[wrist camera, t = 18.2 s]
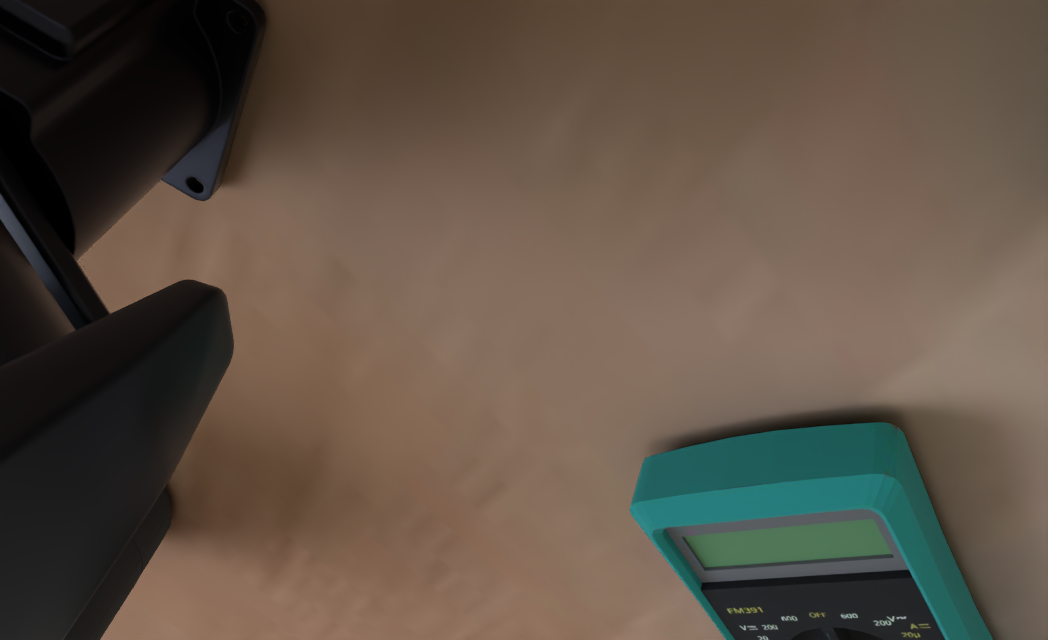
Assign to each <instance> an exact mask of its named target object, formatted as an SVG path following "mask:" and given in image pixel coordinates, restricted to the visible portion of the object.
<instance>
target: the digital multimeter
mask: <svg viewBox="0 0 1048 640" xmlns="http://www.w3.org/2000/svg"><path fill="white" fill-rule="evenodd" d="M630 512H631V515H632V517H633V518H634V519H635V520H636V522H637V523H638V524H639V526H640V527H641V528H642V530H643V531H644V532H645V533H646V535H647V536H648V537H649V539H650V540H651V541H652V542H653V544H654V545H655V546H656V548H657V549H658V550H659V551H660V553H661V554H662V555H663V557H664V558H665V559H666V561H667V562H668V563H669V564H670V566H671V567H672V568H673V570H674V571H675V572H676V573H677V575H678V576H679V577H680V579H681V580H682V581H683V582H684V584H685V585H686V586H687V588H688V589H689V590H690V591H691V593H692V594H693V595H694V597H695V598H696V599H697V601H698V602H699V603H700V604H701V606H702V607H703V608H704V610H705V611H706V613H707V614H708V615H709V617H710V618H711V619H712V621H713V622H714V624H715V625H716V626H717V628H718V629H719V631H720V632H721V633H722V635H723V636H724V638H725V639H726V640H993V638H992V636H991V634H990V632H989V631H988V629H987V627H986V625H985V623H984V621H983V619H982V617H981V615H980V614H979V612H978V610H977V608H976V606H975V604H974V601H973V599H972V597H971V595H970V592H969V590H968V588H967V586H966V584H965V581H964V579H963V577H962V575H961V572H960V570H959V568H958V566H957V564H956V561H955V559H954V557H953V555H952V552H951V550H950V548H949V546H948V544H947V541H946V539H945V537H944V535H943V532H942V529H941V527H940V524H939V522H938V519H937V517H936V514H935V512H934V509H933V506H932V504H931V501H930V499H929V496H928V494H927V491H926V489H925V486H924V483H923V481H922V478H921V476H920V473H919V471H918V468H917V466H916V463H915V460H914V458H913V455H912V453H911V450H910V448H909V445H908V443H907V440H906V437H905V435H904V433H903V432H902V431H901V430H900V429H899V428H898V427H897V426H894V425H892V424H889V423H884V422H874V423H859V424H844V425H830V426H818V427H807V428H797V429H787V430H777V431H770V432H763V433H757V434H750V435H744V436H737V437H731V438H726V439H722V440H717V441H712V442H707V443H703V444H698V445H693V446H689V447H685V448H681V449H677V450H673V451H669V452H664V453H660V454H656V455H652V456H650V457H647V458H645V460H644V462H643V464H642V467H641V471H640V474H639V478H638V482H637V485H636V489H635V492H634V496H633V499H632V503H631V506H630Z"/></svg>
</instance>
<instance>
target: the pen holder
mask: <svg viewBox="0 0 1048 640" xmlns="http://www.w3.org/2000/svg"><path fill="white" fill-rule="evenodd" d="M170 523H171V503H170V499H169V495H168V493H167V490H166V488H164V489H163V491H162V492H161V494H160V496H159V497H158V499H157V500H156V502H155V503H154V505H153V506H152V508H151V509H150V511H149V512H148V514H147V515H146V517H145V518H144V520H143V521H142V523H141V524H140V526H139V527H138V529H137V530H136V532H135V533H134V535H133V536H132V538H131V539H130V541H129V542H128V544H127V545H126V547H125V548H124V550H123V551H122V553H121V554H120V556H119V557H118V559H117V560H116V562H115V563H114V565H113V566H112V568H111V569H110V571H109V572H108V574H107V575H106V577H105V578H104V580H103V581H102V583H101V584H100V586H99V587H98V589H97V590H96V592H95V593H94V595H93V596H92V598H91V599H90V601H89V602H88V604H87V605H86V607H85V608H84V610H83V611H82V613H81V614H80V616H79V617H78V619H77V620H76V622H75V623H74V625H73V626H72V628H71V629H70V631H69V632H68V634H67V635H66V637H65V638H64V640H100V639H101V637H102V636H103V634H104V633H105V631H106V629H107V628H108V626H109V625H110V623H111V622H112V620H113V618H114V617H115V615H116V614H117V612H118V611H119V609H120V607H121V606H122V604H123V603H124V601H125V599H126V598H127V596H128V595H129V593H130V592H131V590H132V588H133V587H134V585H135V584H136V582H137V580H138V578H139V577H140V575H141V574H142V572H143V570H144V569H145V567H146V566H147V564H148V562H149V561H150V559H151V558H152V556H153V554H154V553H155V551H156V549H157V548H158V546H159V545H160V543H161V541H162V540H163V538H164V536H165V534H166V532H167V531H168V529H169V527H170Z"/></svg>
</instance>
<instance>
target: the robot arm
mask: <svg viewBox="0 0 1048 640" xmlns="http://www.w3.org/2000/svg"><path fill="white" fill-rule="evenodd" d="M237 13H240V14H241V15H242V16H243V17H245V19H246V21H247V23H248V25H245V24H244V23H242V22H241V21H240V20H239V18H238V16H237ZM265 29H266V16H265V13H264V11H263V9H262V8H261V6H260V5H259V4H258V3H257V2H256V1H255V0H0V640H64V638H65V637H66V635H67V634H68V632H69V631H70V629H71V628H72V626H73V625H74V623H75V622H76V620H77V619H78V617H79V616H80V614H81V613H82V611H83V610H84V608H85V607H86V605H87V604H88V602H89V601H90V599H91V598H92V596H93V595H94V593H95V592H96V590H97V589H98V587H99V586H100V584H101V583H102V581H103V580H104V578H105V577H106V575H107V574H108V572H109V571H110V569H111V568H112V566H113V565H114V563H115V562H116V560H117V559H118V557H119V556H120V554H121V553H122V551H123V550H124V548H125V547H126V545H127V544H128V542H129V541H130V539H131V538H132V536H133V535H134V533H135V532H136V530H137V529H138V527H139V526H140V524H141V523H142V521H143V520H144V518H145V517H146V515H147V514H148V512H149V511H150V509H151V508H152V506H153V505H154V503H155V502H156V500H157V499H158V497H159V496H160V494H161V492H162V491H163V489H164V488H165V486H166V485H167V483H168V481H169V479H170V478H171V476H172V474H173V472H174V470H175V469H176V467H177V465H178V463H179V461H180V459H181V457H182V455H183V453H184V451H185V449H186V448H187V446H188V444H189V442H190V440H191V438H192V436H193V434H194V432H195V430H196V428H197V426H198V424H199V422H200V420H201V418H202V416H203V414H204V413H205V411H206V409H207V407H208V405H209V403H210V401H211V399H212V397H213V395H214V393H215V391H216V389H217V387H218V385H219V383H220V381H221V380H222V378H223V376H224V374H225V372H226V370H227V368H228V366H229V364H230V361H231V358H232V355H233V349H234V340H233V333H232V327H231V321H230V314H229V308H228V302H227V297H226V295H225V293H224V292H223V291H222V290H221V289H219V288H217V287H214V286H211V285H208V284H204V283H201V282H198V281H195V280H183V281H179V282H177V283H175V284H173V285H170V286H168V287H166V288H164V289H162V290H160V291H158V292H156V293H154V294H151V295H149V296H147V297H145V298H143V299H141V300H139V301H137V302H135V303H132V304H130V305H128V306H126V307H124V308H122V309H120V310H118V311H116V312H113V313H111V314H110V313H109V311H108V309H107V308H106V306H105V305H104V303H103V302H102V300H101V298H100V297H99V295H98V294H97V292H96V291H95V289H94V288H93V286H92V284H91V283H90V281H89V280H88V278H87V277H86V275H85V273H84V272H83V270H82V269H81V267H80V266H79V264H78V263H77V260H78V259H79V258H80V257H81V256H82V255H83V254H84V253H85V252H86V251H87V250H88V249H89V248H90V247H91V246H92V245H93V244H94V243H95V242H96V241H97V240H98V239H99V238H101V237H102V236H103V235H104V234H105V233H106V232H107V231H108V230H109V229H110V228H111V227H112V226H113V225H114V224H115V223H116V222H117V221H118V220H119V219H120V218H121V217H122V216H123V215H124V214H125V213H126V212H128V211H129V210H130V209H131V208H132V207H133V206H134V205H135V204H136V203H137V202H138V201H139V200H140V199H141V198H142V197H143V196H144V195H145V194H146V193H147V192H148V191H149V190H150V189H151V188H152V187H154V186H155V185H156V184H157V183H158V182H159V181H160V180H162V181H164V182H166V183H168V184H169V185H171V186H173V187H174V188H176V189H178V190H180V191H181V192H183V193H185V194H186V195H188V196H190V197H192V198H194V199H196V200H200V201H205V200H208V199H210V198H211V196H212V195H213V194H214V193H215V192H216V191H217V190H218V188H219V187H220V184H221V180H222V177H223V173H224V170H225V166H226V163H227V159H228V156H229V153H230V149H231V146H232V142H233V139H234V135H235V132H236V129H237V125H238V122H239V118H240V115H241V111H242V108H243V105H244V101H245V98H246V94H247V91H248V87H249V84H250V81H251V77H252V74H253V70H254V67H255V63H256V60H257V57H258V53H259V50H260V46H261V43H262V39H263V36H264V33H265ZM197 179H198V180H199V181H200V182H201V183H202V184H201V183H200V182H199V181H198V180H197Z"/></svg>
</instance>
